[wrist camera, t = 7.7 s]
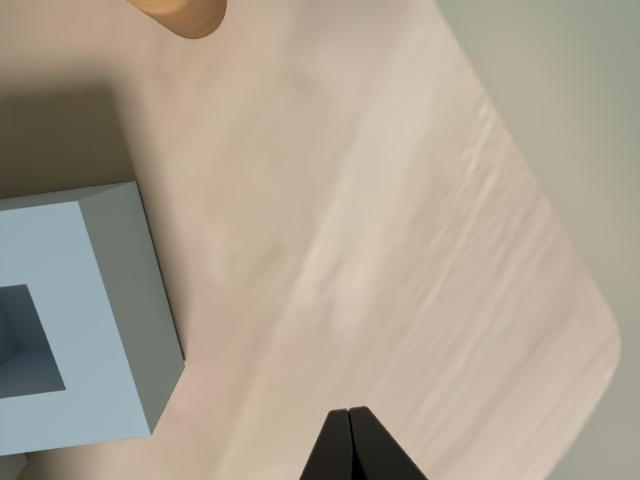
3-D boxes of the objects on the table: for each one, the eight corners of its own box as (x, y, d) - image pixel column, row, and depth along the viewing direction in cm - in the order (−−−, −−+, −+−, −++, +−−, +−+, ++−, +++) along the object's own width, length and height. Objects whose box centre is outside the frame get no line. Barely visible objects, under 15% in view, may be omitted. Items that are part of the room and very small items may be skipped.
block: (185, 366, 21) (151, 435, 16) (-1, 391, 21) (-87, 467, 16) (135, 180, 18) (77, 201, 13) (-80, 209, 18) (-212, 239, 13)
